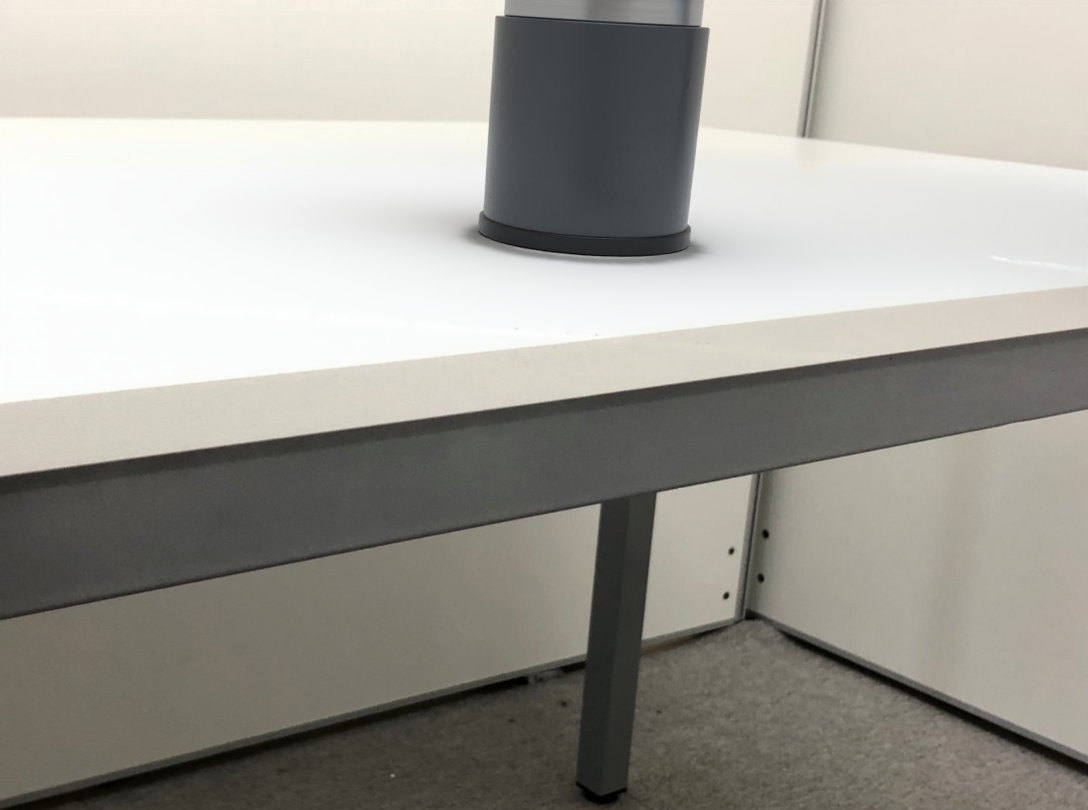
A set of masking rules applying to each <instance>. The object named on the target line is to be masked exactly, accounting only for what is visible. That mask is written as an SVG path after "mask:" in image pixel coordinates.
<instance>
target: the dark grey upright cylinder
mask: <svg viewBox="0 0 1088 810" xmlns="http://www.w3.org/2000/svg"><path fill="white" fill-rule="evenodd" d="M704 7H705V0H504V7H503V8H504V9H503V10H504V11H503V15H495V17H494V32H493V45H492V46H493V48H492V49H493V50H492V65H491V81H490V99H489V112H488V113H489V114H488V130H487V131H488V132H487V144H486V145H487V146H486V160H485V161H486V164H485V179H484V195H483V196H484V197H483V210H481V211H479V214H478V225H477V229H478V231H479V233H480V234H481V235H483V236H485V237H487V238H489V239H491V240H494V241H497V242H501V243H504V244H508V245H512V246H517V247H522V248H528V249H534V250H540V251H547V252H557V253H563V254H577V255H588V256H589V255H592V256H621V257H622V256H623V257H624V256H625V257H626V256H627V257H629V256H652V255H663V254H668V253H674V252H678V251H682V250H684V249H686V248H688V247H689V245H690V243H691V242H690V241H691V233H692V227H691V226H690V224H688V222H689V215H690V206H691V197H692V189H693V179H694V171H695V162H696V155H697V146H698V137H699V128H700V120H701V110H702V102H703V93H704V84H705V77H706V76H705V75H706V68H707V58H708V49H709V42H710V41H709V40H710V31H711V29H710V27H707V26H702V25H703V15H704Z"/></svg>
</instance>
